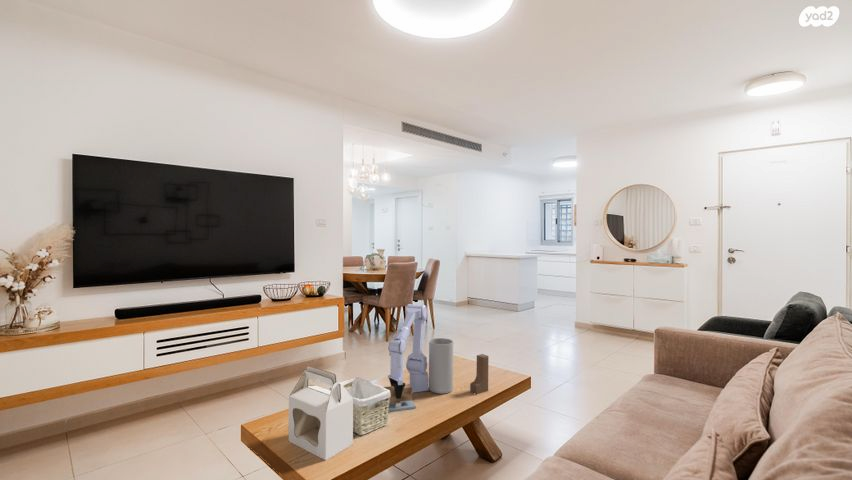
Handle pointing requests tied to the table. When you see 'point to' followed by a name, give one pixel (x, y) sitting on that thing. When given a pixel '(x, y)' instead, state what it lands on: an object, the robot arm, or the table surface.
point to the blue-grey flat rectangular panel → (402, 406)
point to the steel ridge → (397, 404)
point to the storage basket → (367, 404)
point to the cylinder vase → (441, 365)
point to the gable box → (320, 415)
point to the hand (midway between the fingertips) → (396, 395)
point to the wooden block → (480, 375)
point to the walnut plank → (405, 394)
